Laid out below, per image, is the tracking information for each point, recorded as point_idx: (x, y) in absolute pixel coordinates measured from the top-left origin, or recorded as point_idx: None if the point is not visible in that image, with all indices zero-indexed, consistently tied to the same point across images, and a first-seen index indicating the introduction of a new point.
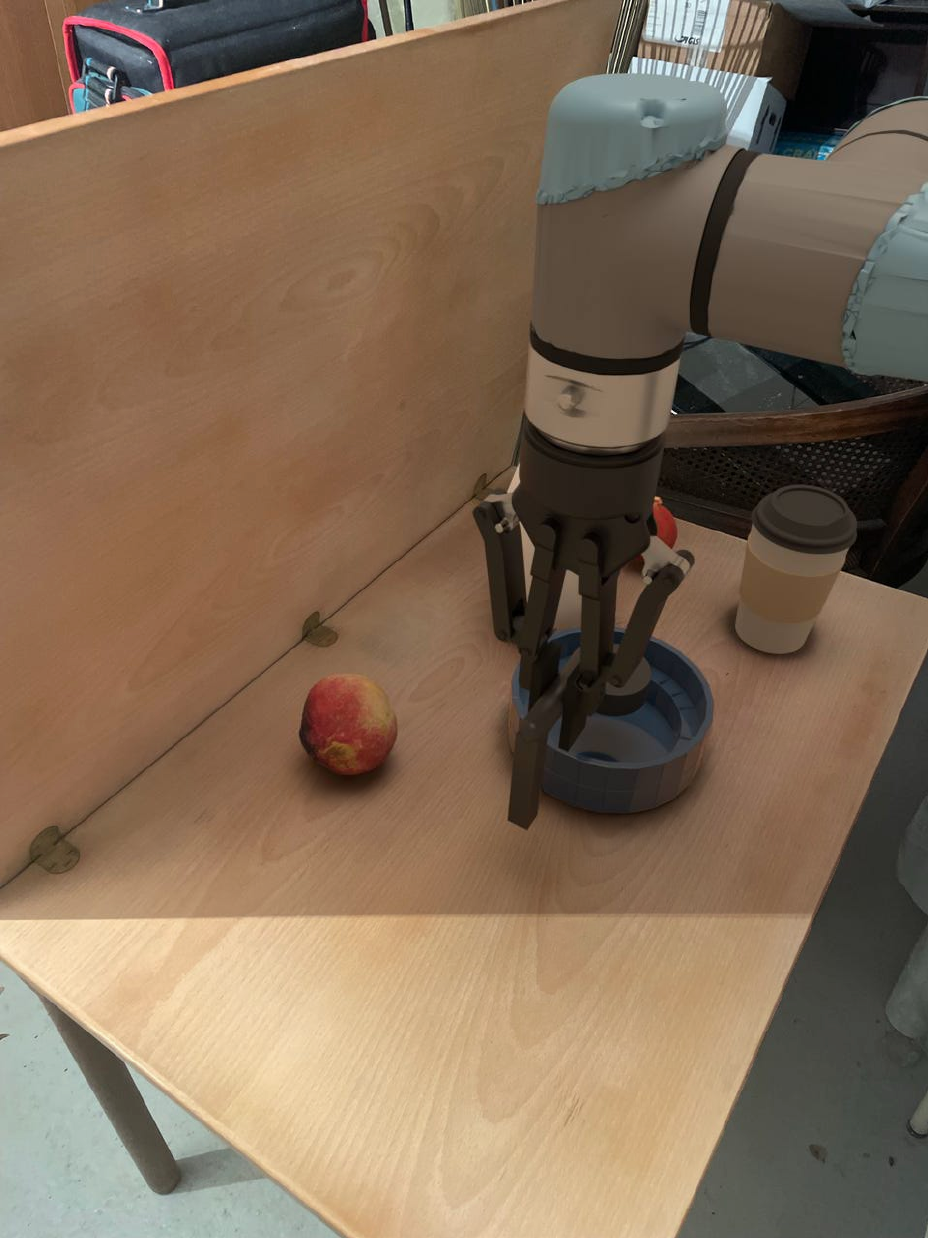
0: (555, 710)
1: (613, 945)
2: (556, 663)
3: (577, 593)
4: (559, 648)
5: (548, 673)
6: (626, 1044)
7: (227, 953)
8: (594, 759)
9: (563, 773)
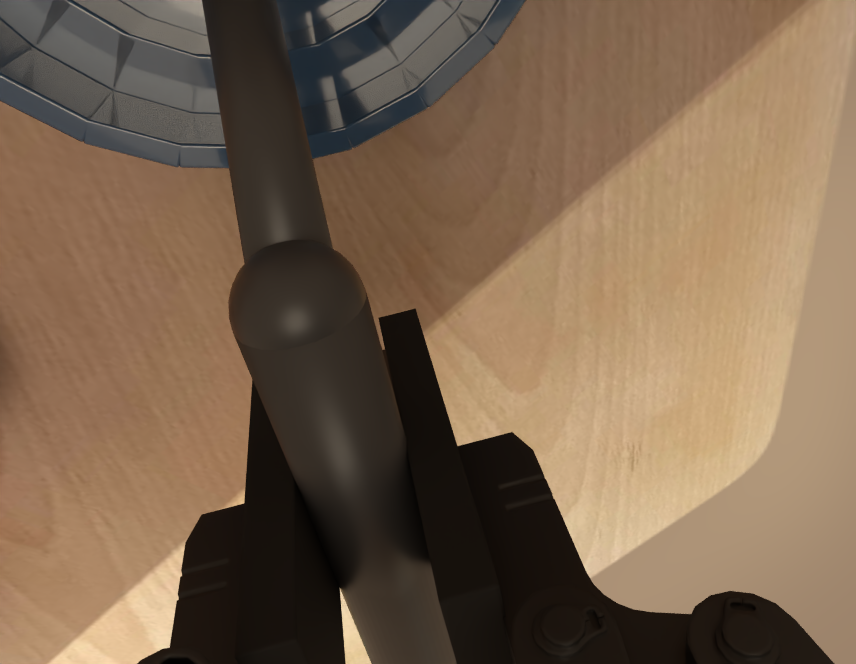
0: (435, 606)
1: (575, 271)
2: (304, 571)
3: None
4: (301, 639)
5: (327, 622)
6: (657, 365)
7: (165, 622)
8: (376, 113)
9: None
